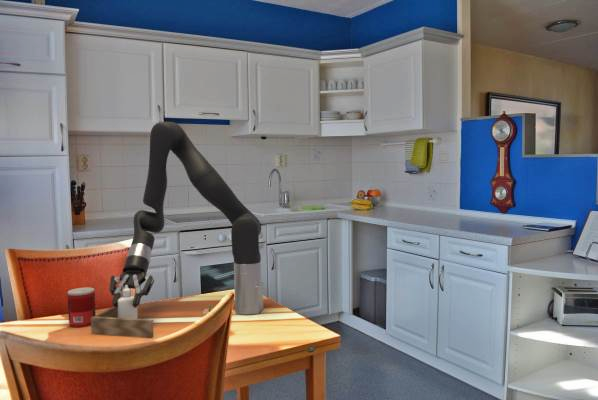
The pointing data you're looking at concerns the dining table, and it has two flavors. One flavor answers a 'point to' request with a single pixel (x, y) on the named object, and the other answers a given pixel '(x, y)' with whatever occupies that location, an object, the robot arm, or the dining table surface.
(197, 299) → the dining table surface
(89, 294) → the canned food
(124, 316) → the eye dropper bottle
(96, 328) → the corner arena
